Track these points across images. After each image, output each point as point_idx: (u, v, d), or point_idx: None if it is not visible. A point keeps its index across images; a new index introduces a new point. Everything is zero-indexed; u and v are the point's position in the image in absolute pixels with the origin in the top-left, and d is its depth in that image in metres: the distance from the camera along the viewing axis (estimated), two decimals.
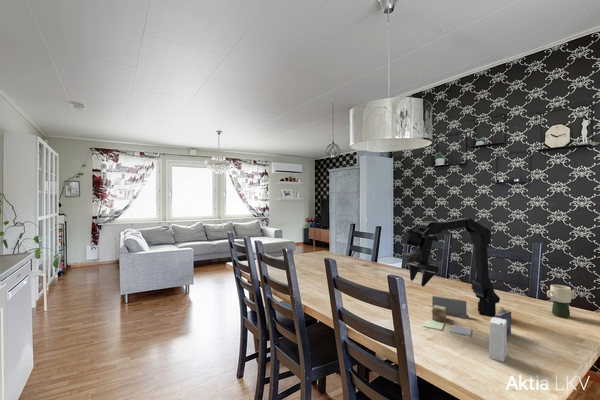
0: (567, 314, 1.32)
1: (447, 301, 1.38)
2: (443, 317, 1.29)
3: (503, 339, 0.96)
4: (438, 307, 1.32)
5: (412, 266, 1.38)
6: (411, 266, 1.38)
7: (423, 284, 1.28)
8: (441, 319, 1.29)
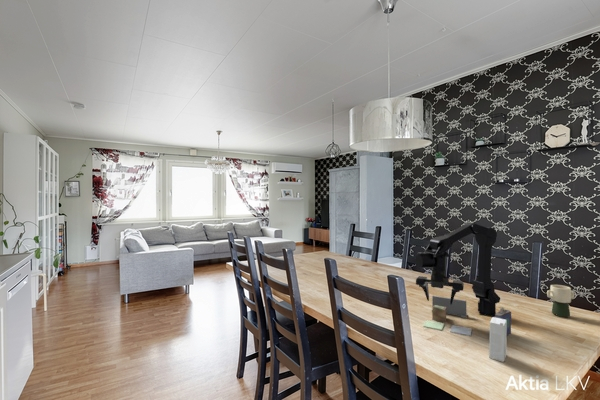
0: (567, 314, 1.32)
1: (447, 301, 1.38)
2: (443, 317, 1.29)
3: (503, 339, 0.96)
4: (438, 307, 1.32)
5: (426, 286, 1.34)
6: (426, 287, 1.33)
7: None
8: (441, 319, 1.29)
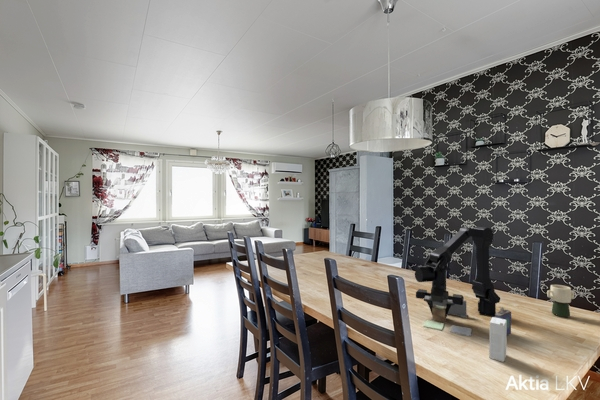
0: (567, 314, 1.32)
1: None
2: (443, 317, 1.29)
3: (503, 339, 0.96)
4: (438, 307, 1.32)
5: (431, 300, 1.33)
6: (431, 301, 1.32)
7: None
8: (441, 319, 1.29)
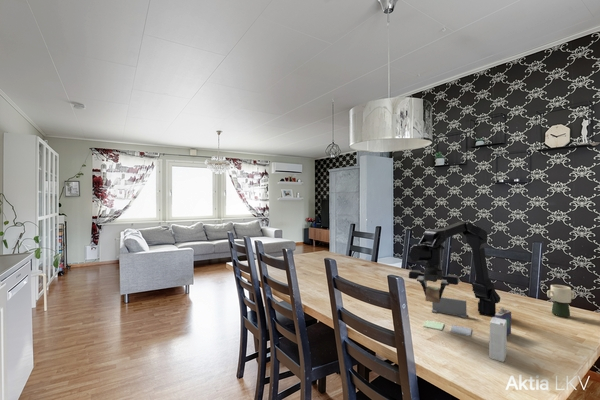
0: (567, 314, 1.32)
1: (447, 301, 1.38)
2: (437, 298, 1.22)
3: (503, 339, 0.96)
4: (432, 288, 1.25)
5: (424, 281, 1.26)
6: (424, 282, 1.26)
7: None
8: (435, 300, 1.23)
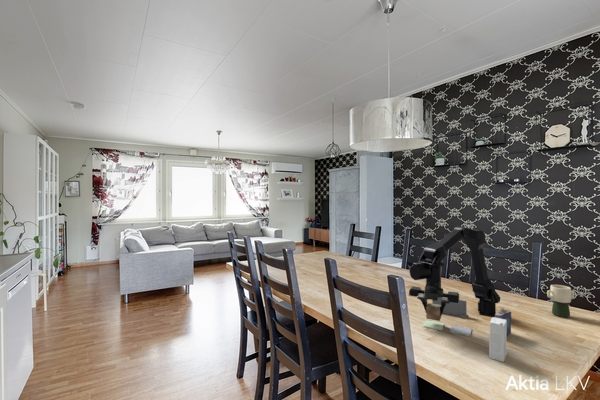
0: (567, 314, 1.32)
1: None
2: (438, 316, 1.22)
3: (503, 339, 0.96)
4: (432, 305, 1.25)
5: (425, 298, 1.26)
6: (425, 299, 1.25)
7: None
8: (436, 318, 1.22)
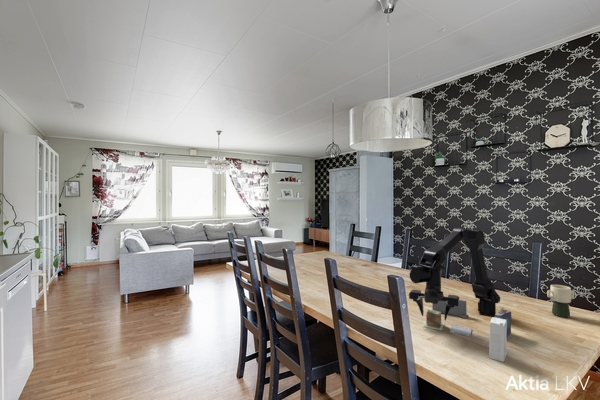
0: (567, 314, 1.32)
1: None
2: (438, 323, 1.22)
3: (503, 339, 0.96)
4: (432, 312, 1.25)
5: (421, 301, 1.27)
6: (420, 301, 1.26)
7: None
8: (436, 325, 1.22)
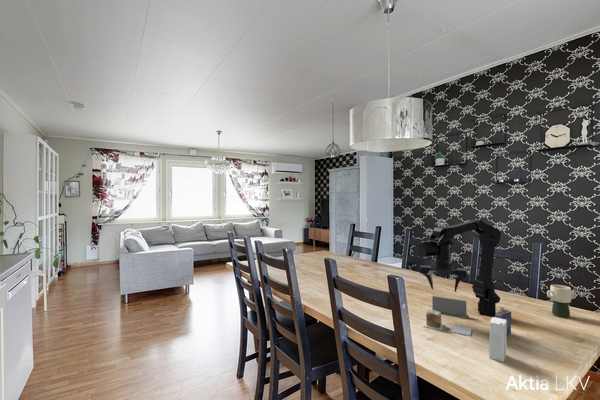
0: (567, 314, 1.32)
1: (447, 301, 1.38)
2: (438, 323, 1.22)
3: (503, 339, 0.96)
4: (432, 312, 1.25)
5: (430, 275, 1.35)
6: (430, 275, 1.34)
7: (456, 289, 1.30)
8: (436, 325, 1.22)
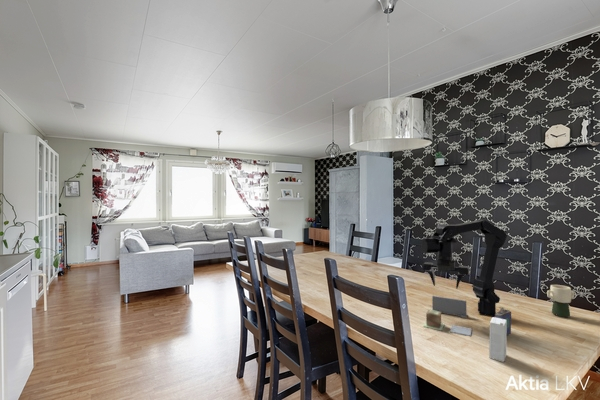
0: (567, 314, 1.32)
1: (447, 301, 1.38)
2: (438, 323, 1.22)
3: (503, 339, 0.96)
4: (432, 312, 1.25)
5: (432, 272, 1.37)
6: (432, 272, 1.37)
7: (457, 286, 1.32)
8: (436, 325, 1.22)
